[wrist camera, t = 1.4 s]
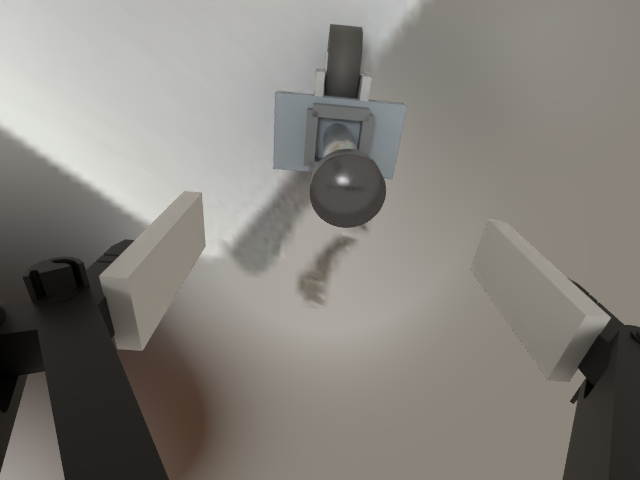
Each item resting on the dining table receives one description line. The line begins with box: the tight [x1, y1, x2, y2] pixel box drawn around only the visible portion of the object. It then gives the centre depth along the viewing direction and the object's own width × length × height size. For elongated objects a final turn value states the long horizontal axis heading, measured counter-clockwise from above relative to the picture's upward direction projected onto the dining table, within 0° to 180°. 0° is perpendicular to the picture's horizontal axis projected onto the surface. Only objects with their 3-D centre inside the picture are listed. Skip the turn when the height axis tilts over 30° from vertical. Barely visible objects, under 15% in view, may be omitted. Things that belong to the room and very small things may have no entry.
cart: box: [273, 24, 407, 179], centre depth 35 cm, size 12×13×11 cm
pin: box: [310, 123, 386, 228], centre depth 26 cm, size 4×4×15 cm
